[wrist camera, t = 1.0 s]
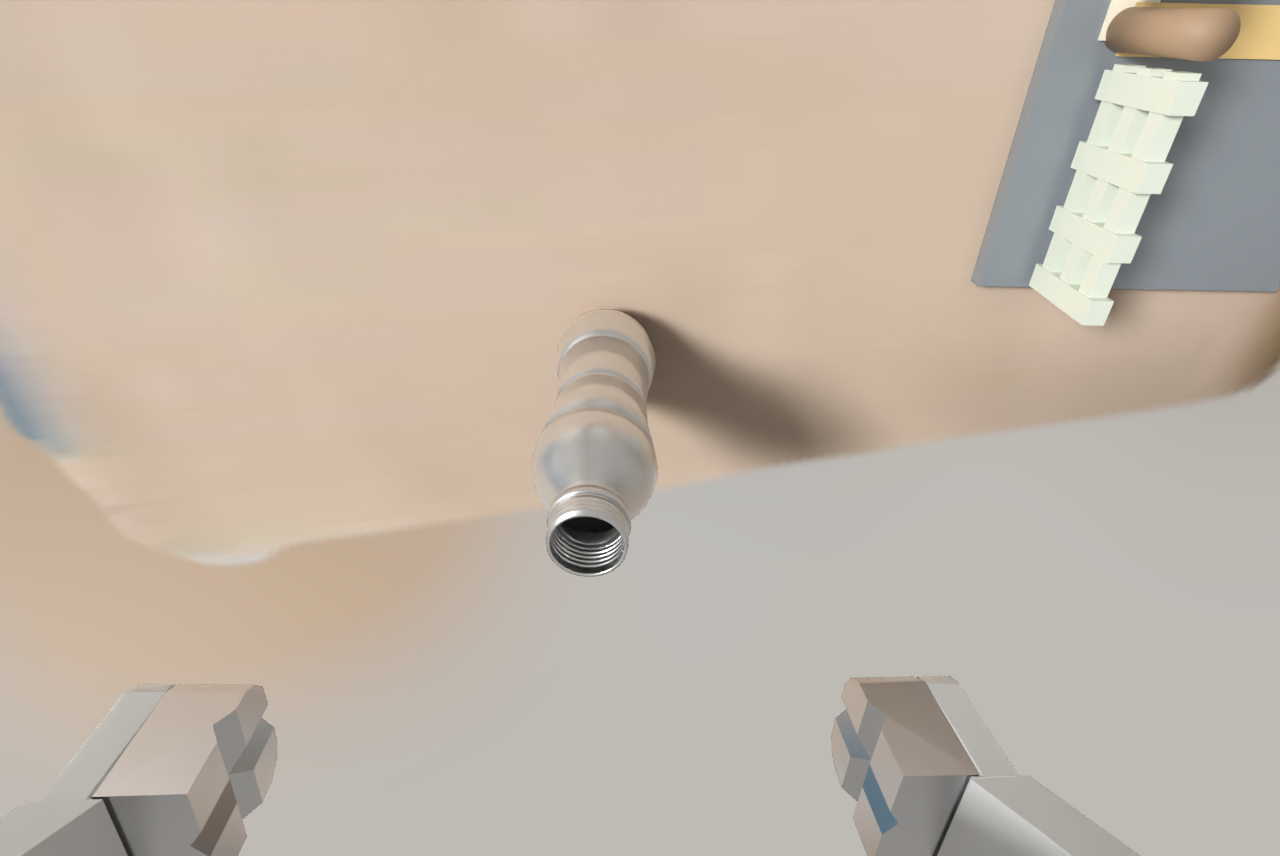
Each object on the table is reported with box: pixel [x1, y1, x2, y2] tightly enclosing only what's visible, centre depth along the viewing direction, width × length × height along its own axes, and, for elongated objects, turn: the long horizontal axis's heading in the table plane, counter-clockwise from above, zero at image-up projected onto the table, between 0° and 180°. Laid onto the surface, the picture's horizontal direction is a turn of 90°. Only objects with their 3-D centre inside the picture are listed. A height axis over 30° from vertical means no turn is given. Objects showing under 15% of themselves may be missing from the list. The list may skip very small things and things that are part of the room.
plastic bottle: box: [531, 309, 658, 577], centre depth 37 cm, size 6×7×20 cm
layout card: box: [971, 0, 1280, 292], centre depth 35 cm, size 28×19×1 cm
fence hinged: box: [1029, 64, 1209, 326], centre depth 36 cm, size 12×1×6 cm, turn 179°
